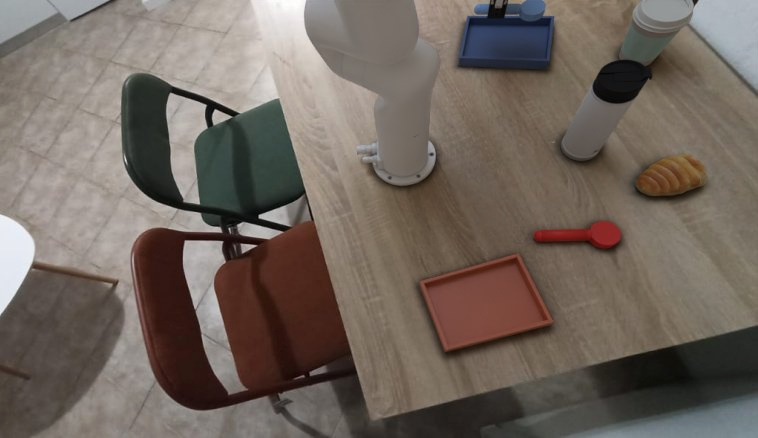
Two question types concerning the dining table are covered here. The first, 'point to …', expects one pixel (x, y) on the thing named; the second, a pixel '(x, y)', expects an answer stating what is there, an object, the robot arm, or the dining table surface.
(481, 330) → the front tray
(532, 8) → the blue spoon
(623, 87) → the travel mug
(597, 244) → the red spoon
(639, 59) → the coffee cup
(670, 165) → the pastry
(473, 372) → the dining table surface
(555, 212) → the dining table surface
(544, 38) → the back tray
